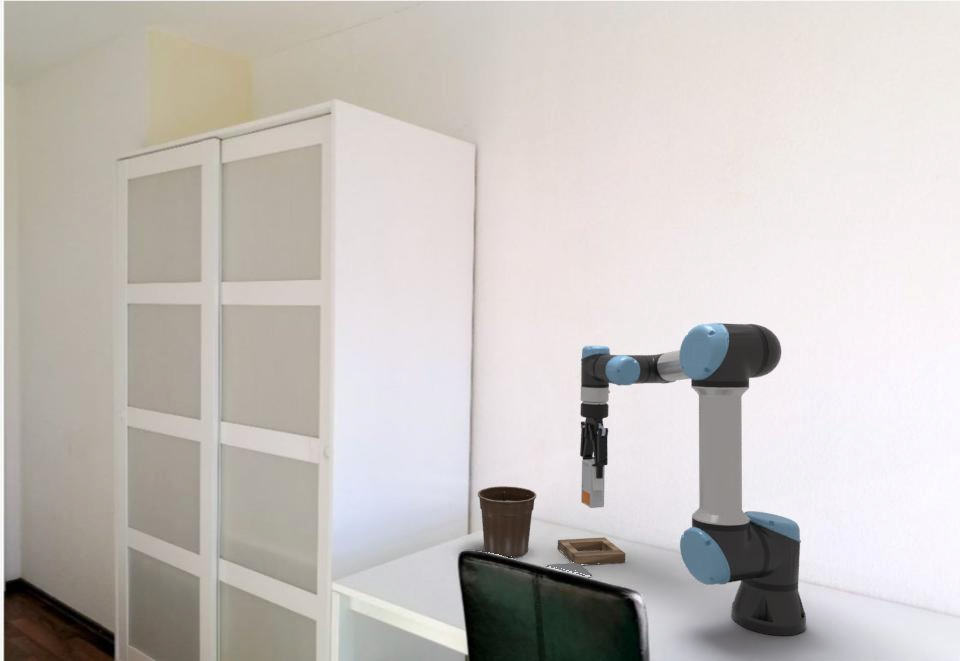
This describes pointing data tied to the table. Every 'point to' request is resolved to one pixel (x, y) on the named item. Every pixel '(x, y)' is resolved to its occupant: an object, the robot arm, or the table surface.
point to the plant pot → (506, 519)
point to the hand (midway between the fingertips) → (592, 486)
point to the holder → (594, 557)
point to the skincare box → (591, 486)
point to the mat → (571, 568)
